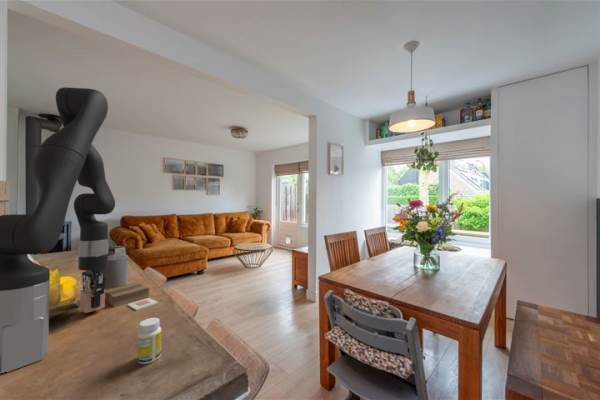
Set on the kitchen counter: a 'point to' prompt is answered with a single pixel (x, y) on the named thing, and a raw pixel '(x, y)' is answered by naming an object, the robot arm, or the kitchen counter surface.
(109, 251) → the coffee box
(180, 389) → the kitchen counter surface
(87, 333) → the kitchen counter surface
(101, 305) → the terracotta block
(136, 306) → the card
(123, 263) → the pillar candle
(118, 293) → the walnut block
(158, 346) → the supplement bottle
